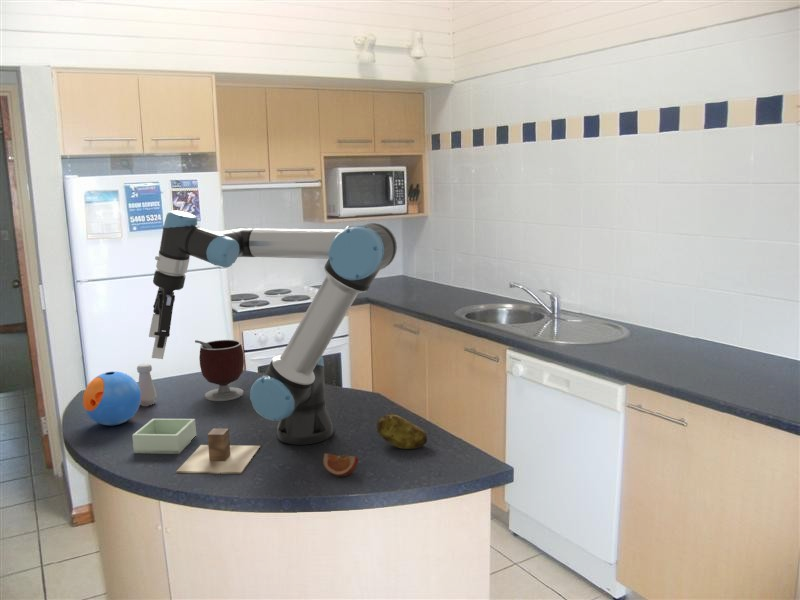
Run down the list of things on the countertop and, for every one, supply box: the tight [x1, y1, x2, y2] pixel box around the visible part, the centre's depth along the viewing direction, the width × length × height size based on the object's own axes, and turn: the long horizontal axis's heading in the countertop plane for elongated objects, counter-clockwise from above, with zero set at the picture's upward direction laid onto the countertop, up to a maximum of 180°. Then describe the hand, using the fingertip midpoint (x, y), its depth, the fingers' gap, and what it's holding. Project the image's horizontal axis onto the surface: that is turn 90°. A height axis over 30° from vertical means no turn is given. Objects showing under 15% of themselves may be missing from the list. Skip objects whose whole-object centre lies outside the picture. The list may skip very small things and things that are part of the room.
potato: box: [375, 413, 428, 450], centre depth 173 cm, size 8×13×8 cm, turn 55°
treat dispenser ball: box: [82, 371, 141, 426], centre depth 193 cm, size 16×15×15 cm
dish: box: [131, 418, 197, 455], centre depth 177 cm, size 12×12×5 cm
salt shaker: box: [136, 363, 158, 407], centre depth 209 cm, size 6×6×13 cm
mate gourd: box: [194, 339, 245, 402], centre depth 216 cm, size 16×14×20 cm
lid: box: [175, 428, 261, 475], centre depth 167 cm, size 16×16×8 cm
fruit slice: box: [322, 452, 359, 477], centre depth 158 cm, size 8×7×5 cm
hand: (155, 347), depth 175 cm, fingers open, 13 cm apart
